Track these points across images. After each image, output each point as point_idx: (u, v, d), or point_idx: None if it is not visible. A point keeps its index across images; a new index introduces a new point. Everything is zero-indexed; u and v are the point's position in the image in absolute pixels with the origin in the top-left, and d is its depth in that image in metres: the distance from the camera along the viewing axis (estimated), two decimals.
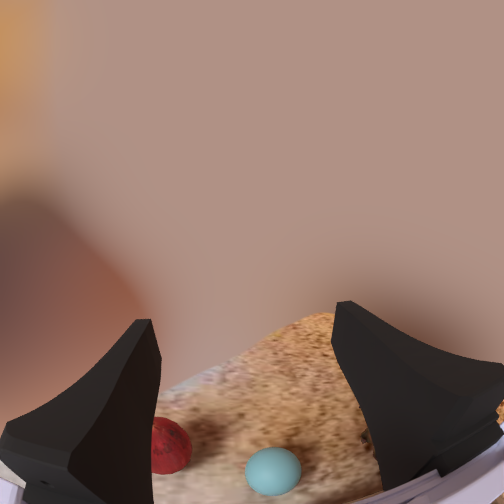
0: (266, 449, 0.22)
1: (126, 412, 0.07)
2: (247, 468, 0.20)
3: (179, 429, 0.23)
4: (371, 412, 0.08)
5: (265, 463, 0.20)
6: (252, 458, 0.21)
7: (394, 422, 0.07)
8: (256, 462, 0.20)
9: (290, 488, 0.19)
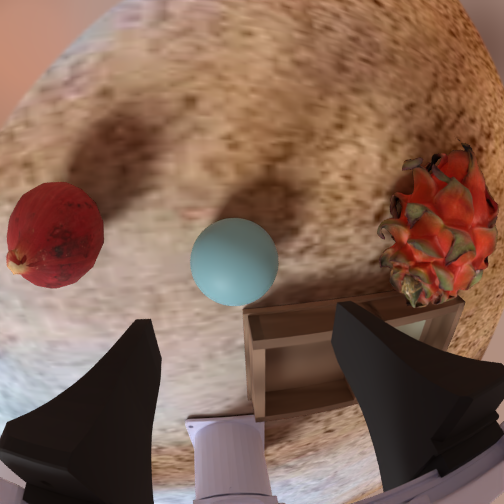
0: (227, 246, 0.15)
1: (126, 412, 0.07)
2: (193, 270, 0.16)
3: (70, 221, 0.12)
4: (371, 412, 0.08)
5: (222, 284, 0.15)
6: (202, 259, 0.15)
7: (394, 422, 0.07)
8: (208, 276, 0.15)
9: None
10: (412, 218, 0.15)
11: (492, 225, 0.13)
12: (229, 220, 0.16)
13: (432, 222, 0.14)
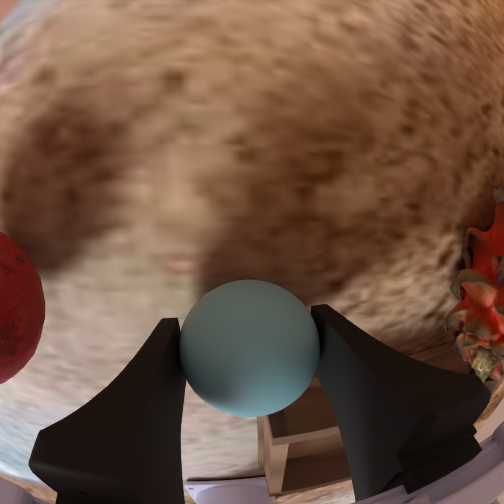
0: (241, 347, 0.08)
1: (162, 413, 0.07)
2: (184, 370, 0.09)
3: None
4: (343, 420, 0.08)
5: (233, 403, 0.08)
6: (197, 362, 0.08)
7: (363, 432, 0.07)
8: (210, 390, 0.08)
9: None
10: None
11: None
12: (242, 290, 0.09)
13: None
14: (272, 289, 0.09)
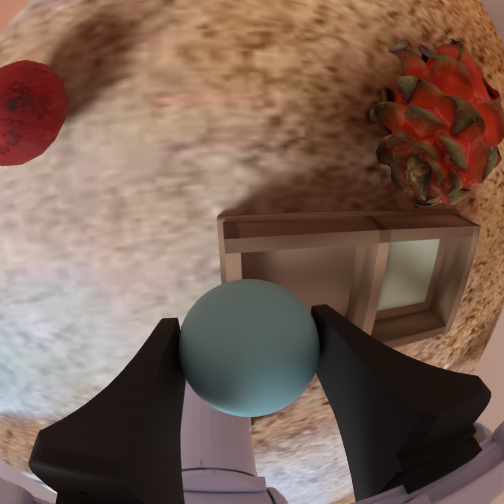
0: (241, 347, 0.08)
1: (162, 413, 0.07)
2: (184, 370, 0.09)
3: (31, 80, 0.09)
4: (343, 420, 0.08)
5: (233, 403, 0.08)
6: (196, 362, 0.08)
7: (363, 432, 0.07)
8: (210, 390, 0.08)
9: None
10: (406, 92, 0.12)
11: (496, 102, 0.10)
12: (241, 290, 0.09)
13: (429, 93, 0.11)
14: (271, 288, 0.09)
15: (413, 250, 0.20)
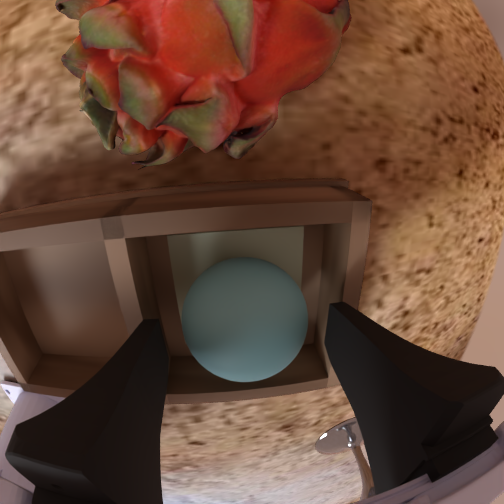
0: (237, 311, 0.09)
1: (136, 412, 0.07)
2: (187, 339, 0.10)
3: None
4: (363, 414, 0.08)
5: (231, 365, 0.09)
6: (198, 327, 0.10)
7: (385, 425, 0.07)
8: (210, 353, 0.10)
9: None
10: None
11: None
12: (236, 264, 0.11)
13: None
14: (263, 263, 0.11)
15: (245, 252, 0.13)
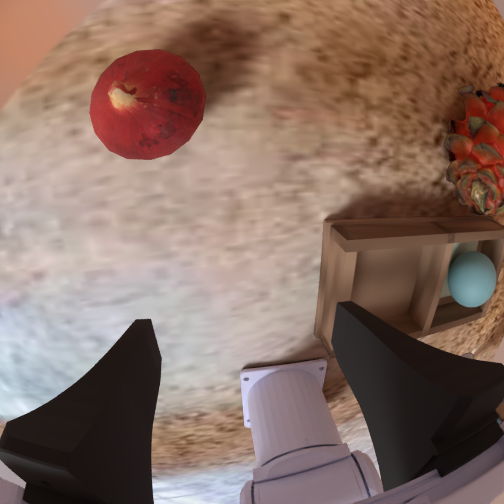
0: (488, 270, 0.18)
1: (126, 412, 0.07)
2: (467, 287, 0.19)
3: (186, 74, 0.11)
4: (371, 412, 0.08)
5: (486, 293, 0.19)
6: (477, 280, 0.19)
7: (394, 422, 0.07)
8: (480, 290, 0.19)
9: None
10: (473, 129, 0.14)
11: None
12: (477, 253, 0.20)
13: (490, 132, 0.13)
14: (481, 253, 0.20)
15: (460, 249, 0.22)
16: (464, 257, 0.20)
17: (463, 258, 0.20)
